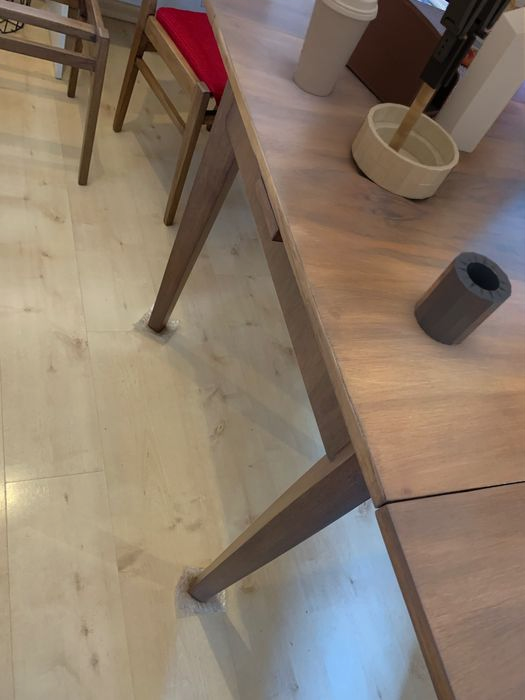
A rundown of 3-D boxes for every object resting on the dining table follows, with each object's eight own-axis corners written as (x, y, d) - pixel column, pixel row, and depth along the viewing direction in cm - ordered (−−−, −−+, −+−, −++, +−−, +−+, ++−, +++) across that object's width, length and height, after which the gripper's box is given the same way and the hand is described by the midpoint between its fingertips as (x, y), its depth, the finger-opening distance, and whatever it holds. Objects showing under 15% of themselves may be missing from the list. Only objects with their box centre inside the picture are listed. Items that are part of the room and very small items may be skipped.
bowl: (440, 166, 89) (463, 134, 84) (429, 217, 80) (454, 184, 75) (360, 124, 88) (378, 90, 83) (340, 172, 79) (358, 136, 74)
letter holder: (400, 123, 92) (449, 39, 81) (330, 51, 99) (366, -35, 88) (437, 116, 98) (487, 37, 87) (368, 49, 104) (407, -33, 93)
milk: (441, 146, 92) (531, 10, 75) (431, 124, 96) (516, -11, 78) (472, 153, 94) (567, 22, 77) (461, 131, 97) (550, 1, 80)
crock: (465, 316, 70) (512, 269, 63) (460, 358, 65) (510, 312, 58) (416, 292, 70) (457, 242, 63) (407, 332, 65) (451, 283, 58)
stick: (396, 153, 83) (468, 34, 69) (394, 159, 82) (467, 39, 68) (385, 148, 83) (455, 27, 69) (383, 154, 82) (454, 32, 68)
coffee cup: (331, 110, 88) (375, 13, 76) (277, 81, 87) (313, -21, 76) (345, 85, 94) (389, -9, 82) (295, 58, 93) (331, -40, 82)
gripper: (565, -150, 60) (443, 58, 78) (499, -166, 52) (379, 71, 70) (620, -114, 58) (481, 91, 76) (561, -126, 50) (421, 108, 68)
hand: (433, 81), depth 73 cm, fingers closed on stick, 2 cm apart
